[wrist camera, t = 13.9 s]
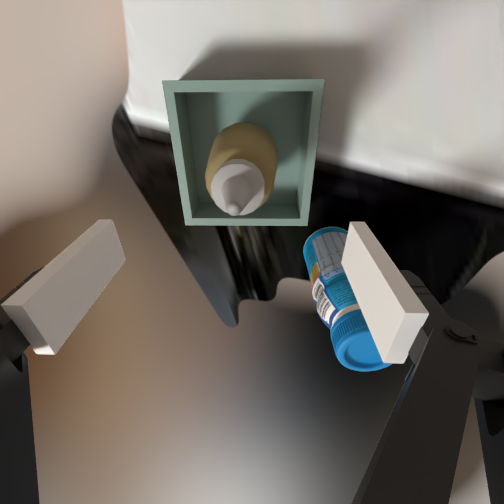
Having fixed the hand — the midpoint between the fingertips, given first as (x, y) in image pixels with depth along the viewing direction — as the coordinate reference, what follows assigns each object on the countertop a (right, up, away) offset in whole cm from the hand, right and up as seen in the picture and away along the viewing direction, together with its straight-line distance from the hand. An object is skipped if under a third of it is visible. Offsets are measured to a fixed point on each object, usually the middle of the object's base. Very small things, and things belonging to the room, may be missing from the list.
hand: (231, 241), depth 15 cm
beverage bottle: (+14, 0, +28) cm, 31 cm away
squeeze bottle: (0, +12, +20) cm, 23 cm away
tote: (0, +13, +20) cm, 24 cm away
